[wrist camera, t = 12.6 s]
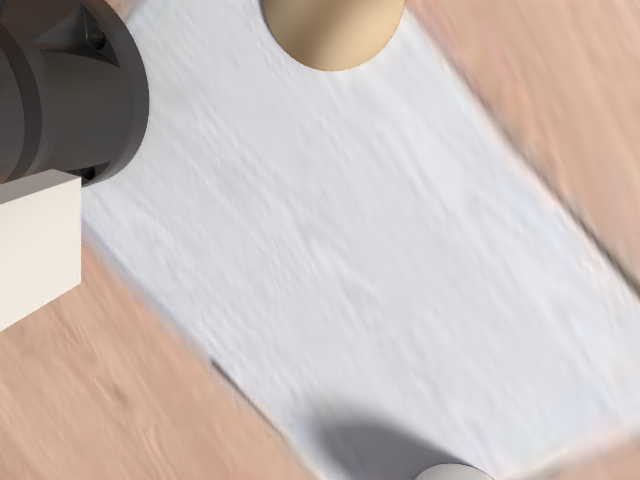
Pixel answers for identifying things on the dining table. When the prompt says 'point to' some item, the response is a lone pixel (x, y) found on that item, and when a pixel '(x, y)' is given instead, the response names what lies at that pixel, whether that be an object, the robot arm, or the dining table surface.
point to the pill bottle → (452, 473)
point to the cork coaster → (333, 29)
